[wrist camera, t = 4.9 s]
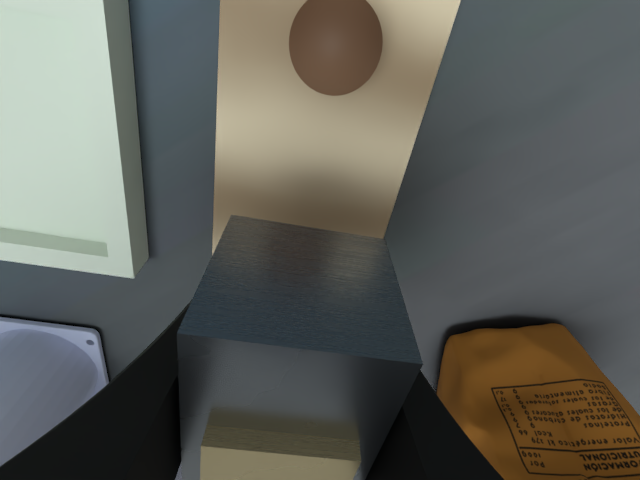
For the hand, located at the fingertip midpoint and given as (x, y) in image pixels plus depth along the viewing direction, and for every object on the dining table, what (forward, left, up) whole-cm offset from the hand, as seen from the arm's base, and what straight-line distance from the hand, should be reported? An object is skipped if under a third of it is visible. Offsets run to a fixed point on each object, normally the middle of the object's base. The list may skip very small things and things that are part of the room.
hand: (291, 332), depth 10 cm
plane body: (0, 0, -10) cm, 10 cm away
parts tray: (+1, +14, -10) cm, 17 cm away
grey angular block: (0, 0, -1) cm, 1 cm away
